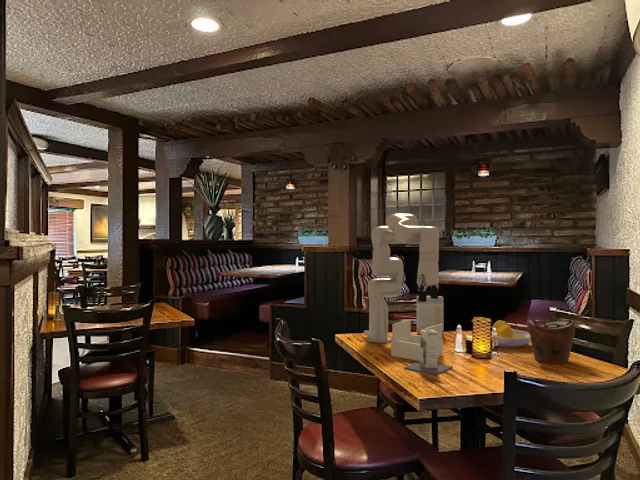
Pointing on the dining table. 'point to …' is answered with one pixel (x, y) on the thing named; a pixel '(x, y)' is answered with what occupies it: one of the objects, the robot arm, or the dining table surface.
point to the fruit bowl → (510, 335)
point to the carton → (410, 341)
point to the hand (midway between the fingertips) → (428, 299)
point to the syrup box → (428, 348)
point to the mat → (432, 371)
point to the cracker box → (430, 313)
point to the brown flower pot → (551, 340)
